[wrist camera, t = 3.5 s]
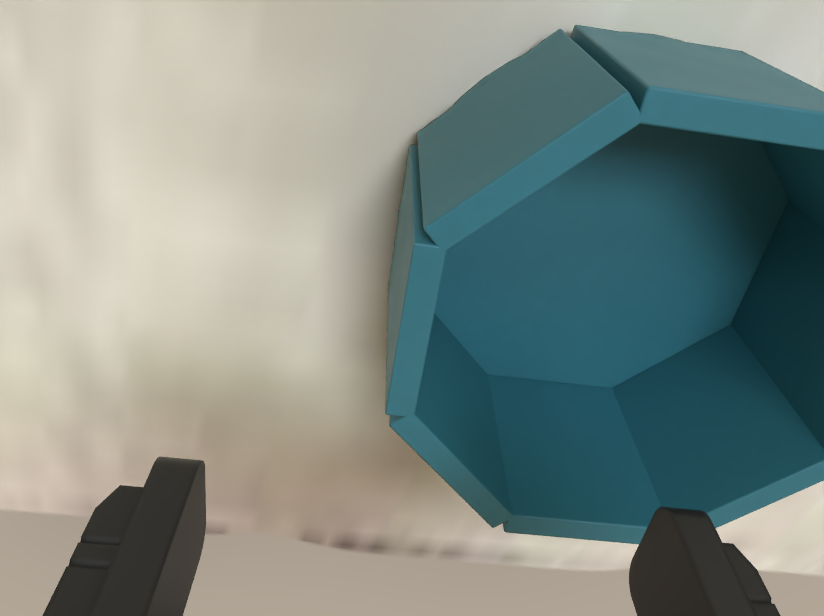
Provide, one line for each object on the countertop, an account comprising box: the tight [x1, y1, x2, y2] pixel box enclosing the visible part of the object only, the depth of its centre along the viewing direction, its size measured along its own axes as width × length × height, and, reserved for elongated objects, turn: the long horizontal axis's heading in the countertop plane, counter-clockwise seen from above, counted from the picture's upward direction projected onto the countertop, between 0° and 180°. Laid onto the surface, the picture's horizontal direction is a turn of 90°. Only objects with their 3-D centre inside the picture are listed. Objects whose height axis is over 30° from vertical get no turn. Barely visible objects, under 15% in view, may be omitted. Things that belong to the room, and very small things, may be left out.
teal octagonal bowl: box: [385, 25, 824, 544], centre depth 21 cm, size 14×14×8 cm
